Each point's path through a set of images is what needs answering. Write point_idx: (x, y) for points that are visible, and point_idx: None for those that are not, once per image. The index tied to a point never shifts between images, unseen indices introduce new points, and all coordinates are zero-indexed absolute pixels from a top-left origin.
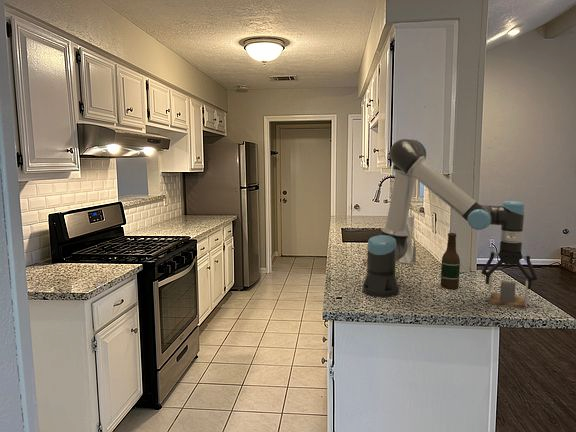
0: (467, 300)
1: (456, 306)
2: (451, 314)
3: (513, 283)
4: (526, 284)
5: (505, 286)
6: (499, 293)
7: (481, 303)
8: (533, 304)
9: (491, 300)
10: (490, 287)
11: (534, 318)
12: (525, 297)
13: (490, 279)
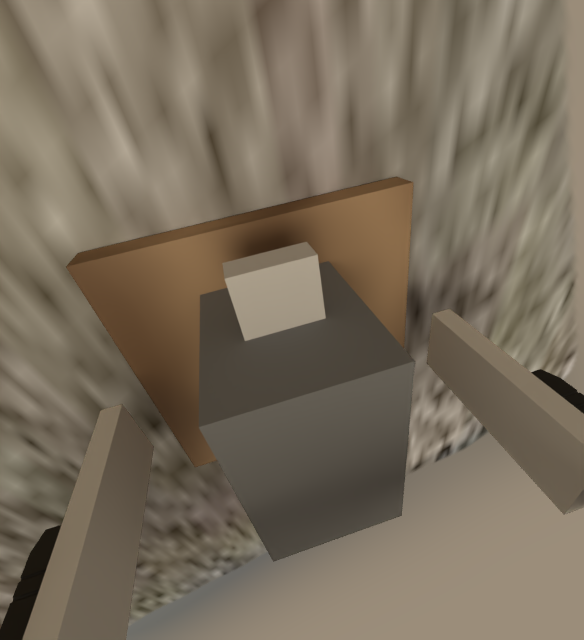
0: (49, 490)
1: None
2: (141, 609)
3: (385, 427)
4: (533, 471)
5: (315, 544)
6: (166, 251)
7: (155, 472)
8: (455, 269)
9: (204, 457)
10: (143, 503)
11: (426, 455)
12: (432, 361)
13: (117, 632)
